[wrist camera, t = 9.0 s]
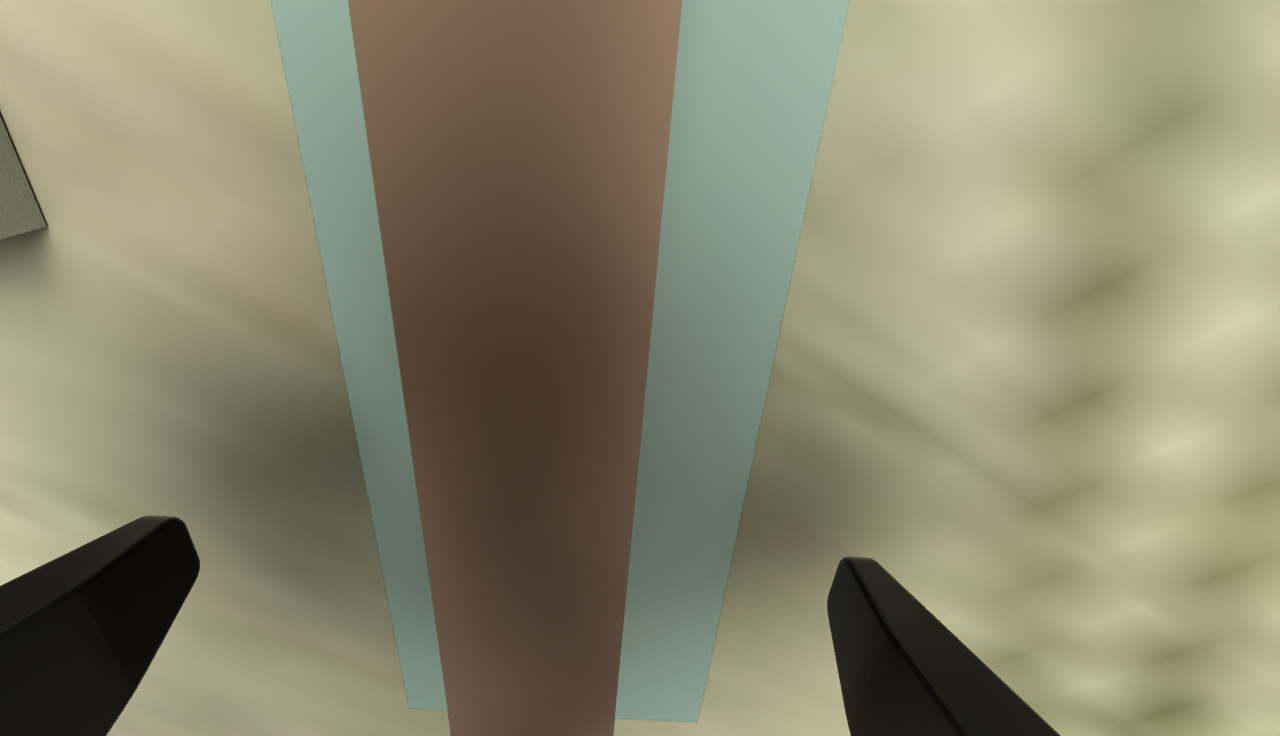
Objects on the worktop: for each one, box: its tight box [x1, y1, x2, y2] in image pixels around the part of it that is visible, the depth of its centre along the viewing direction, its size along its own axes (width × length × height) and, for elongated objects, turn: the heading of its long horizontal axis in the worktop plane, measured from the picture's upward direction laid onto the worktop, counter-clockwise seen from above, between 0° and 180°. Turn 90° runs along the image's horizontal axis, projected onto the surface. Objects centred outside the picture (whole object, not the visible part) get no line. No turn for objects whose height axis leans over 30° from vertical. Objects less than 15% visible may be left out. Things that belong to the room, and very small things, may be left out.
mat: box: [271, 0, 849, 723], centre depth 13 cm, size 9×24×1 cm, turn 176°
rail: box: [348, 0, 682, 736], centre depth 11 cm, size 4×20×4 cm, turn 176°
